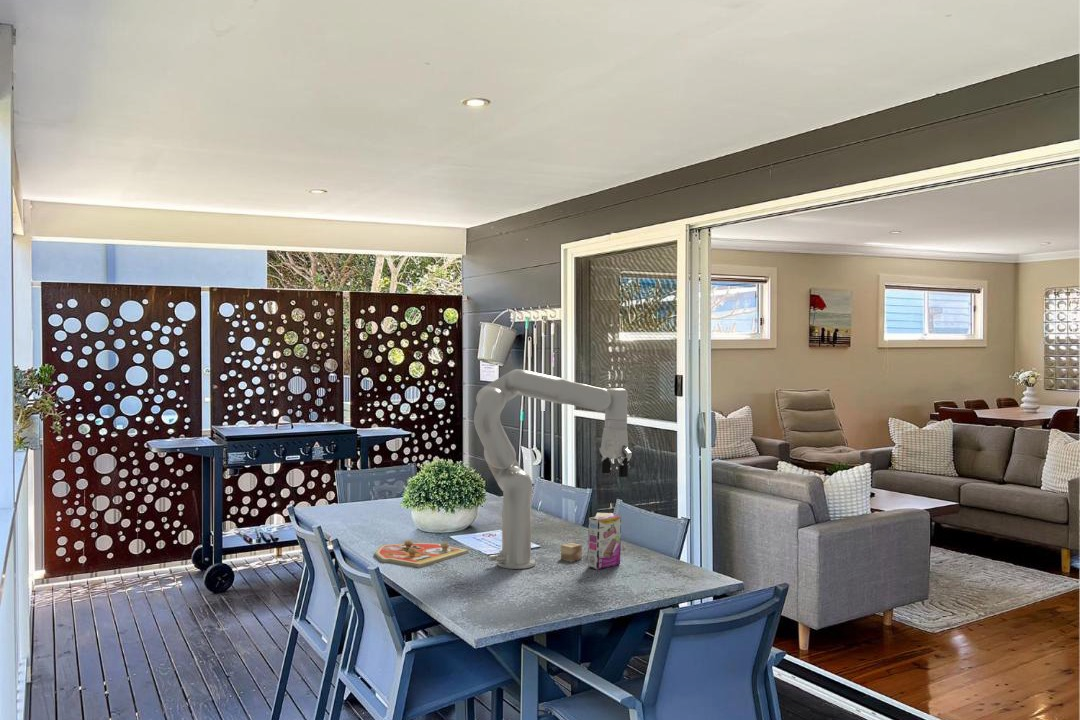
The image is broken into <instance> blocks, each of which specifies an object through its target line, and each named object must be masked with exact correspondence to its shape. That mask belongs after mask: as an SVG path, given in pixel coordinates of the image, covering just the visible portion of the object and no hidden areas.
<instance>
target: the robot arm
mask: <svg viewBox="0 0 1080 720" xmlns="http://www.w3.org/2000/svg"><path fill="white" fill-rule="evenodd" d="M517 396H523V397H527V398H533V399H537V400H541V401H545V402H550V403H555V404H560V405H561V404H562V405H569V406H575V407H579V408H580V407H581V408H584V409H589V410H593V411H599V412H603V411H604V428H603V431H602V436H601V443H600V444H601V446H600V447H599V448H598V449H599V454H600V457H601V459H600V460H601V462H602V463H601V473H602V474H610V473H611V465H612V461H610V460H611V459H613V460H618V462H619V465H618V477H619V478H628V474H629V473H628V470H629V469H628V466H629V464H630V462H631V460H632V459H631V458H632V457H633V456H632V455H633V453H632V451H631V450H630V449H629V438H628V436H629V435H628V400H629V399H628V397H629V394H628V390H626V389H625V388H618V387H617V388H616V387H615V388H612V387H611V388H602V387H597V386H592V385H588V384H585V383H579V382H577V381H576V382H574V381H571V380H569V379H565V378H562V377H558V376H553V375H548V374H544V373H539V372H535V371H530V370H526V369H518V368H515V369H512V370H511V371H508V372H507V373H505V374H504V375H502V376H500V377H499V378H497V379H495V380H494V381H491V382H490V383H488V384H487V385H485V386H483V387H481V389H479V391H478V392H477V394H476V398H475V399H476V404H477V405H476V407H475V410H474V416H473V423H474V427H475V431H476V433H477V435H478V437H479V440H480V442H481V444H482V446H483V457H484V460H485V462H486V463H487V466H488V468H489V470H490V471H491V474H492V476H493V478H494V479H495V481H496V483H497V486H498V487H499V489H500V490H501V491H502V492H503V494H502V495H503V497H502V507H501V508H502V511H501V515H502V516H501V518H502V519H501V522H502V523H501V527H502V529H501V530H502V531H501V534H502V535H501V537H502V538H501V550H499V551H498V553H496V554H491V555H490V554H489V555H488V561H489V562H496V564H497V566H498V567H501V568H502V569H503V568H504V569H510V570H522V569H529V568H533V567H535V566H536V560H535V559H533V558H532V551H531V550H532V499H533V491H534V490H533V482H532V481H533V480H532V479H531V476H530V475H529V473H527V471H525V470H523V469H522V468H521V466H520V464H519V462H518V460H517V454H516V450H515V448H514V446H513V444H512V443H511V441H510V439H509V437H508V435H507V433H506V431H505V428H504V427H503V425H502V422H501V415H502V411H503V409H504V408H505V405H506V404H507V402H509V401H510V400H512V399H514V398H515V397H517Z"/></svg>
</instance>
